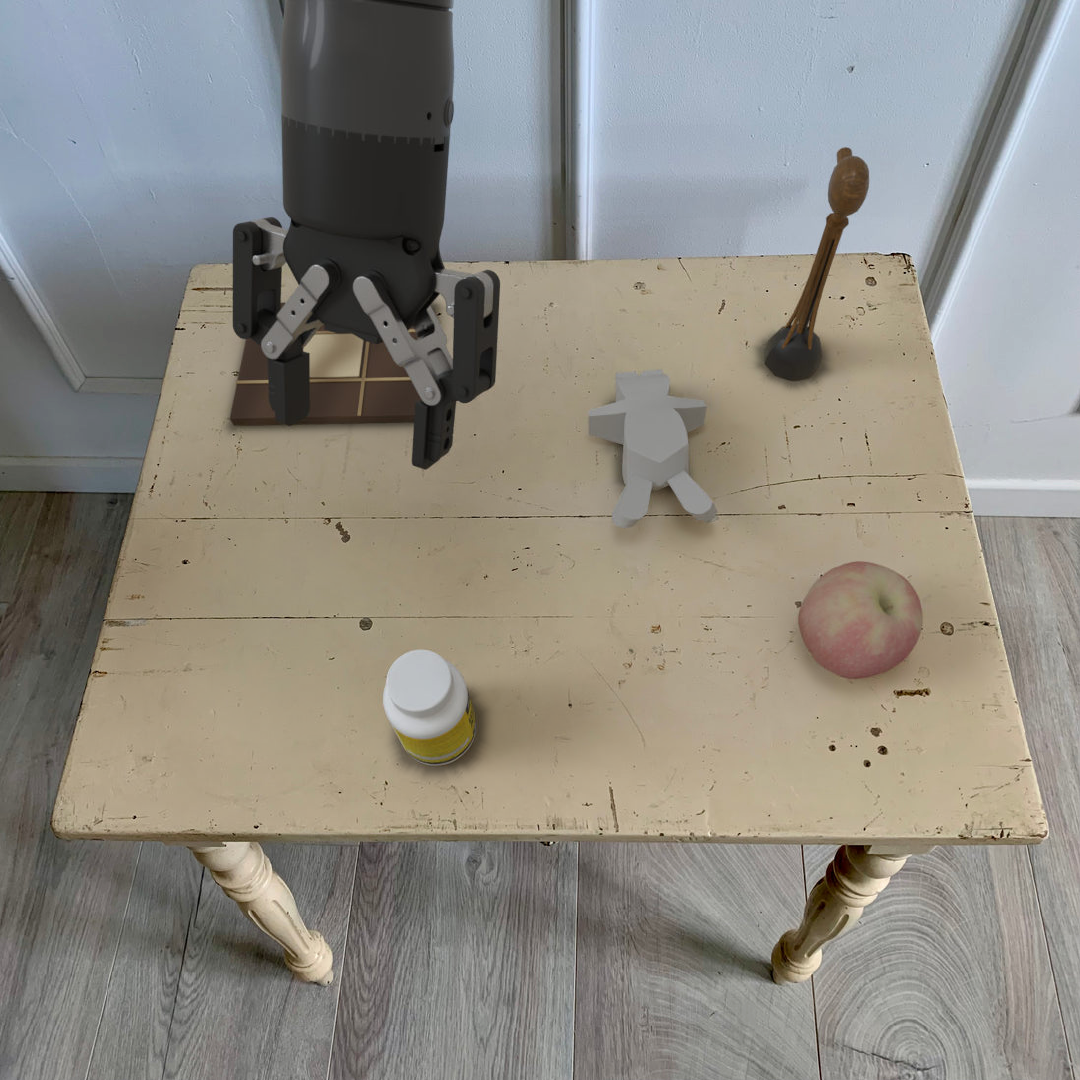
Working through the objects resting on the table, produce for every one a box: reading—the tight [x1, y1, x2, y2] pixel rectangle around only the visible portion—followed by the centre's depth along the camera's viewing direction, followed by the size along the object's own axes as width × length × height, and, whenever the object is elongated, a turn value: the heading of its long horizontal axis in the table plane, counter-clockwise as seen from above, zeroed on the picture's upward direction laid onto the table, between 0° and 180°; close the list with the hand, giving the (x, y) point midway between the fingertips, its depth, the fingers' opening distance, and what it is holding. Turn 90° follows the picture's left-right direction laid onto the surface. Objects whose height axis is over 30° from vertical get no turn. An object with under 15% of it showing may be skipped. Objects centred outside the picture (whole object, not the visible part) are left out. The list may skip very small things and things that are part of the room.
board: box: [229, 302, 421, 426], centre depth 78 cm, size 16×13×1 cm
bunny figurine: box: [587, 368, 718, 529], centre depth 70 cm, size 10×5×15 cm
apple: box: [797, 560, 924, 680], centre depth 61 cm, size 8×8×8 cm
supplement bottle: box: [382, 649, 477, 767], centre depth 58 cm, size 5×5×10 cm
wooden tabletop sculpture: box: [763, 146, 870, 382], centre depth 68 cm, size 6×5×20 cm
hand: (358, 441), depth 48 cm, fingers open, 8 cm apart
